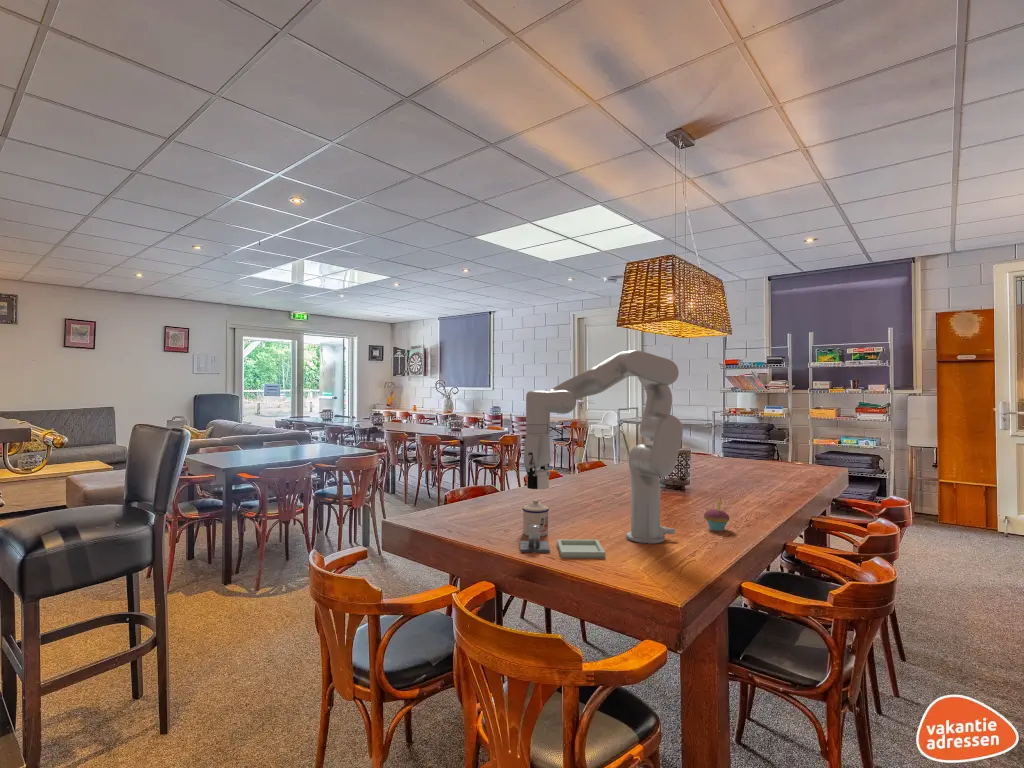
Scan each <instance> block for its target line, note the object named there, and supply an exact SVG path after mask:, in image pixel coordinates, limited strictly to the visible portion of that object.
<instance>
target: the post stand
mask: <svg viewBox="0 0 1024 768" xmlns="http://www.w3.org/2000/svg"><path fill="white" fill-rule="evenodd" d="M519 549H520V550H519V551H520V552H536V553H537V554H541V553H542V554H549V553H551V549H550V545H549V541H548V540H541V537H540V525H535V524H533V525H529V536H528V540H519ZM520 552H519V553H520ZM536 553H535V554H536Z"/></svg>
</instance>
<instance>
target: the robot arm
mask: <svg viewBox="0 0 1024 768" xmlns="http://www.w3.org/2000/svg"><path fill="white" fill-rule="evenodd" d="M679 374H680V373H679V367H678V365H677V364H676V363H675V362H674V361H673V360H671V359H669V358H666V357H661V356H658V355H655V354H653V353H650V352H645V351H642V350H638V349H632V350H626V351H625V350H624V351H620V352H617V353H615V354H614V355H612V356H610V357H609V358H607V359H605V360H603V361H602V362H600V363H599V364H596V365H595V366H593V367H590V369H587V370H586V371H583V372H581V373H579V374H577V375H576V376H574V377H572V378H570V379H567V380H565V381H563V382H560V383H559V384H558V385H556V386H554V387H552V388H551V389H549V390H548V391H545V390H530V391H527V392H526V395H525V433H526V434H525V438H524V439H525V440H524V447H523V466H524V468H525V471H526V488H527V487H528V488H527V489H531V490H538V489H537V476H536V474H537V469H543V470H548V471H549V472H550V469H549V467H550V463H551V444H550V443H551V442H550V435H551V434H550V433H551V413H553V414H561V415H566V414H569V413H571V412H572V411H574V409H575V408H576V406H577V400H579V399H582V398H585V397H590V396H594V395H598V394H601V393H603V392H605V391H607V390H608V389H609V388H612V387H613V386H615V385H616V384H618V383H620V382H621V381H623V380H625V379H626V378H629V377H637V379H638V381H639V382H640V384H641V385H642V386H643V388H644V390H645V393H646V401H645V407H644V409H643V413H642V419H641V422H640V427H639V433H640V435H641V437H642V438H643V439H644V440H647V441H650V442H652V444H648V443H642V444H641V443H640V444H637V445H635V446H634V447H632V448H631V450H630V451H629V454H628V466H629V473H630V488H631V489H630V531H627V532H626V534H625V536H626V539H627V540H629V541H631V542H636V543H638V544H647V543H648V544H660V543H663V542H665V541H666V536H665V535H675V534H676V530H675V529H676V528H674V527H671V528H670V527H667V526H662V524H661V483H660V478H663V477H667V476H669V475H670V474H671V473H673V471H674V469H675V467H676V464H677V460H678V456H679V452H680V450H681V449H680V448H681V443H682V440H683V435H684V434H683V433H684V432H683V425H682V422H681V421H680V419H679V418H678V417H676V416H674V415H672V414H671V411H672V407H673V394H672V391H671V388H670V387H669V386H670V385H672V384H674V383H675V382H676V381H677V380H678V378H679ZM533 469H534V471H533Z"/></svg>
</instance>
